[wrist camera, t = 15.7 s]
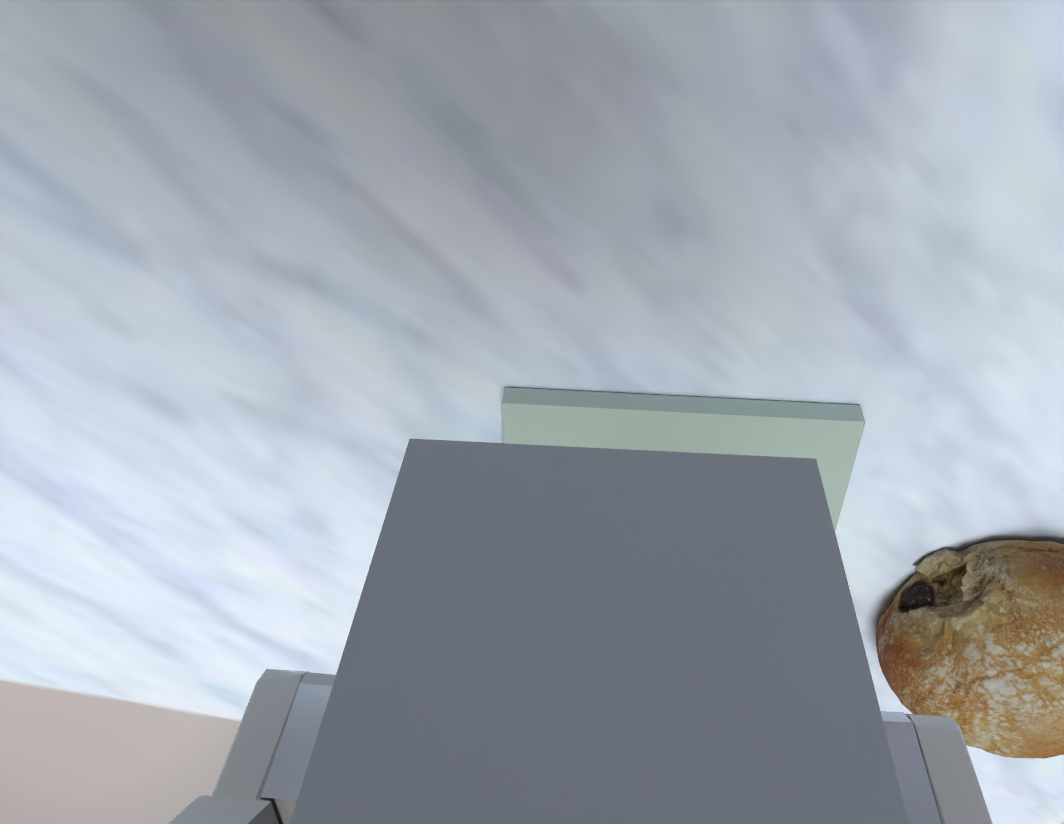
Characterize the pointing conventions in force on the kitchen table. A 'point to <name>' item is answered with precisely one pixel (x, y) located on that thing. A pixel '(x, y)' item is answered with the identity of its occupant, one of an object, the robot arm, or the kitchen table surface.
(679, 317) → the kitchen table surface
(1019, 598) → the bread roll
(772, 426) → the mat
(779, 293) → the kitchen table surface
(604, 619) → the grey block
